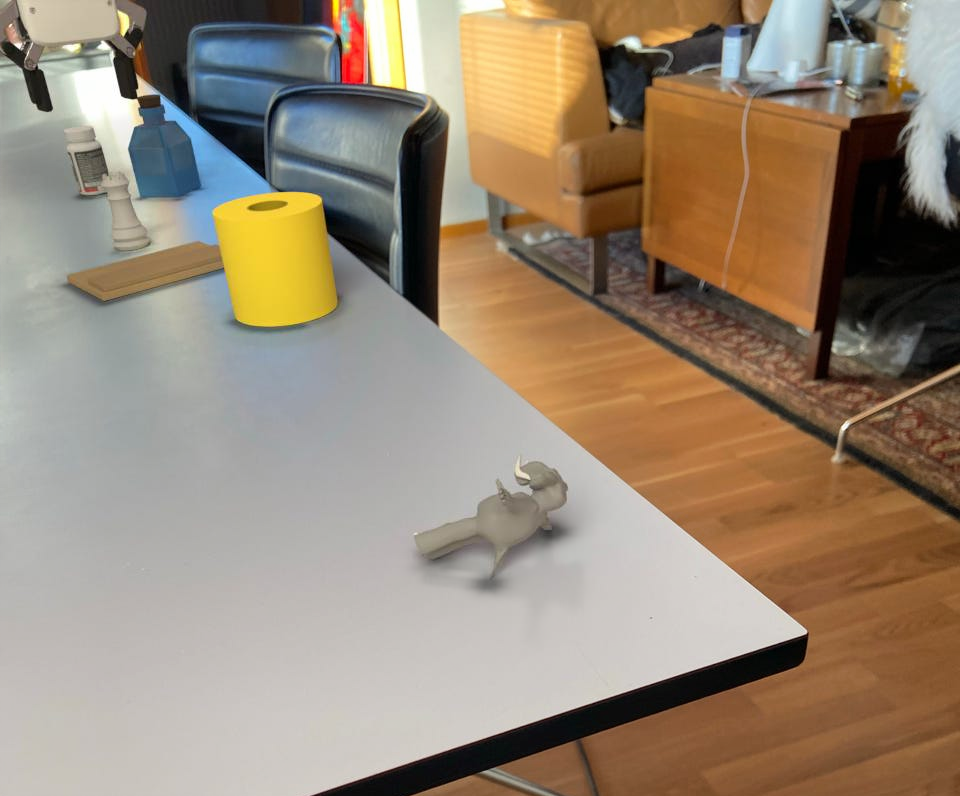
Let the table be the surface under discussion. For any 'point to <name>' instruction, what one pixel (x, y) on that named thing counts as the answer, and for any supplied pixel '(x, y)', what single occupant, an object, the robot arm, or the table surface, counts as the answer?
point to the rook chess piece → (123, 214)
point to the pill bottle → (86, 159)
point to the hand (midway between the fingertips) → (88, 104)
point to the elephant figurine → (502, 515)
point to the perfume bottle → (161, 153)
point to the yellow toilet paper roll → (276, 258)
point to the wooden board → (148, 270)
